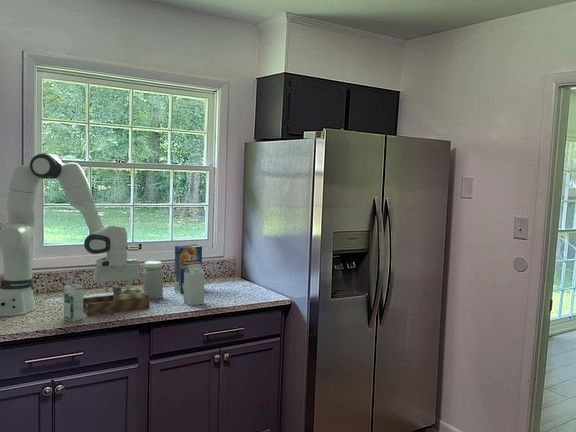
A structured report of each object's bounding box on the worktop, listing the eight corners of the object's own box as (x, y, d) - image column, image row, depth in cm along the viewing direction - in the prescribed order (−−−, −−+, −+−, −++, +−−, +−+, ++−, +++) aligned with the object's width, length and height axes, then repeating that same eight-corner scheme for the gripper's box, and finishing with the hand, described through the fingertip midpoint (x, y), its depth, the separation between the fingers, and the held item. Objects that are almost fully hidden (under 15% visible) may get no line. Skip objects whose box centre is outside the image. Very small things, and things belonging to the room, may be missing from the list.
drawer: (117, 308, 234) (117, 288, 233) (112, 303, 241) (112, 284, 241) (145, 305, 241) (145, 286, 240) (139, 300, 248) (139, 282, 248)
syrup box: (63, 319, 219) (63, 285, 217) (75, 316, 224) (75, 283, 222) (71, 322, 216) (71, 287, 214) (84, 319, 221) (83, 285, 219)
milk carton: (183, 302, 252) (184, 263, 250) (196, 300, 257) (197, 262, 255) (190, 306, 247) (191, 266, 245) (203, 303, 251) (204, 264, 250)
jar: (160, 300, 254) (160, 264, 252) (140, 300, 254) (140, 263, 252) (164, 295, 264) (165, 260, 262) (145, 295, 264) (145, 260, 262)
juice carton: (180, 294, 269) (181, 247, 267) (174, 291, 275) (174, 245, 272) (201, 291, 276) (202, 246, 274) (194, 288, 282) (195, 244, 280)
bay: (88, 315, 226) (88, 301, 225) (81, 308, 236) (81, 295, 235) (149, 308, 241) (149, 295, 240) (141, 302, 251) (141, 289, 250)
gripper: (137, 258, 245) (137, 287, 246) (92, 261, 233) (92, 291, 235) (141, 260, 239) (141, 289, 241) (95, 263, 228) (95, 294, 229)
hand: (117, 290), depth 238 cm, fingers open, 8 cm apart
